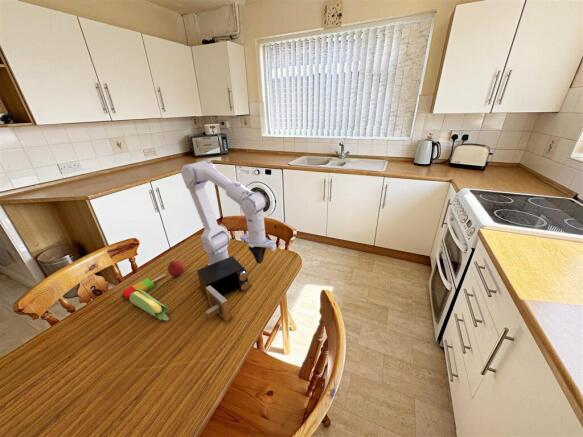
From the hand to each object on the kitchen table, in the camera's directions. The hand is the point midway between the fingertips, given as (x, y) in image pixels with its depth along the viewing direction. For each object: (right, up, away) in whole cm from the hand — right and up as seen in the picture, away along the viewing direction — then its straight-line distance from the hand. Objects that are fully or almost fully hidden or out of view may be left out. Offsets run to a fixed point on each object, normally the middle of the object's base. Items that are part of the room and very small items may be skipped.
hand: (259, 261), depth 86 cm
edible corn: (-36, -15, -6) cm, 40 cm away
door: (-14, -16, -9) cm, 23 cm away
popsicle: (-44, -11, +5) cm, 45 cm away
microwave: (-13, -10, +3) cm, 17 cm away
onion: (-35, -8, +10) cm, 37 cm away
